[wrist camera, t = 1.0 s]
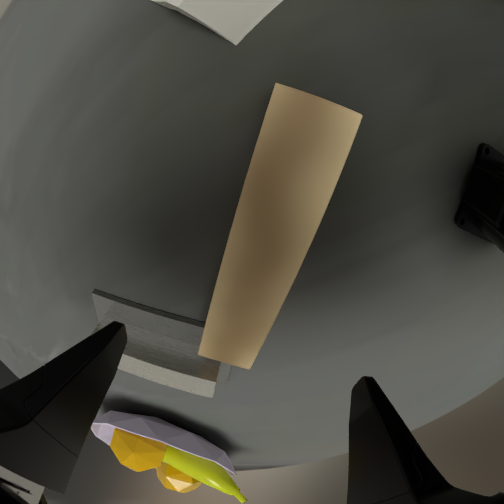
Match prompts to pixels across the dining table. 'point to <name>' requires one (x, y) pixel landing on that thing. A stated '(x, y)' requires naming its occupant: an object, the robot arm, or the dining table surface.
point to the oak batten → (276, 219)
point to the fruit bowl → (166, 452)
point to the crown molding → (224, 14)
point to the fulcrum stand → (161, 346)
